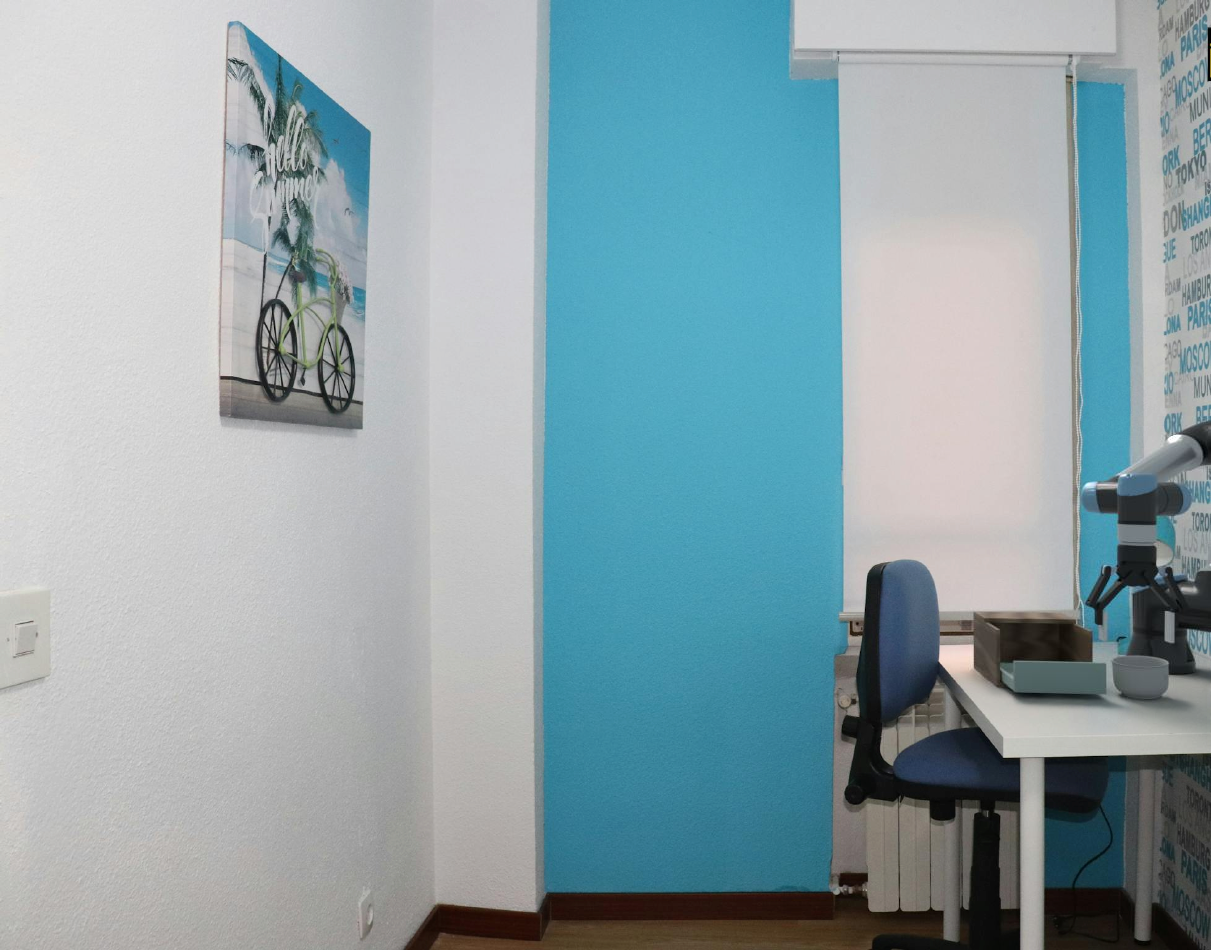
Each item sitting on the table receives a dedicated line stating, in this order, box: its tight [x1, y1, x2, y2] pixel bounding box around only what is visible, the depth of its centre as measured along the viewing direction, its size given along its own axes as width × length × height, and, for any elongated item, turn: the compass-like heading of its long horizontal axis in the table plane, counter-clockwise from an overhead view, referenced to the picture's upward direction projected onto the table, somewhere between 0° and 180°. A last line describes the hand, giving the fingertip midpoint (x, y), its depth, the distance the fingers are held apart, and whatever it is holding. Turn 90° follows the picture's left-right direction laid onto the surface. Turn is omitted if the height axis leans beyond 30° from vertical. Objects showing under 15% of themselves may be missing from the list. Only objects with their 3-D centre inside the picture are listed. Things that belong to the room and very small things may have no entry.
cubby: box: [973, 611, 1094, 688], centre depth 219 cm, size 21×20×14 cm
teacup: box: [1111, 654, 1170, 700], centre depth 203 cm, size 14×11×8 cm
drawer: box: [1000, 661, 1107, 695], centre depth 209 cm, size 19×20×7 cm
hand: (1136, 641), depth 203 cm, fingers open, 13 cm apart
